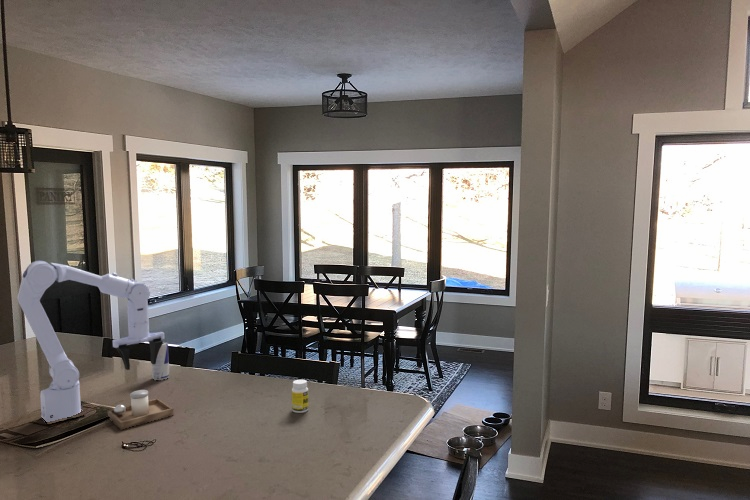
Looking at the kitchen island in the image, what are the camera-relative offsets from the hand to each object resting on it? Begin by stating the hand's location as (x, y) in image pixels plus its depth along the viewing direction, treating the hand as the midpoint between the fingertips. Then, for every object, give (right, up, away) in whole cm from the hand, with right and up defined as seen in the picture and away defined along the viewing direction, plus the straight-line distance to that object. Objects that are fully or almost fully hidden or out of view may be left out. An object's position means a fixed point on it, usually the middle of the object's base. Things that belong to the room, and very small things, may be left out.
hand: (140, 366), depth 163 cm
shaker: (+5, -11, -12) cm, 17 cm away
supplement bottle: (+49, -11, -8) cm, 51 cm away
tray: (+5, -12, -12) cm, 17 cm away
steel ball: (0, -9, -13) cm, 16 cm away
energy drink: (-2, -9, +21) cm, 23 cm away
